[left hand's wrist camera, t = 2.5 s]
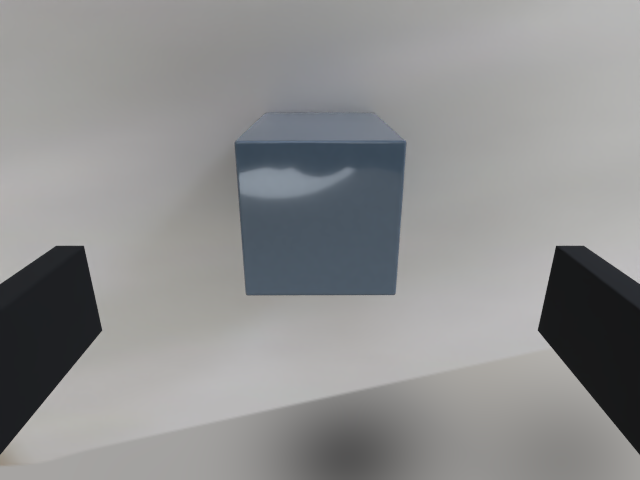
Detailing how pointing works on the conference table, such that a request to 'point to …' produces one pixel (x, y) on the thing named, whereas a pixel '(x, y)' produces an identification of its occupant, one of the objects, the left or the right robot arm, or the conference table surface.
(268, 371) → the conference table surface
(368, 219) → the block
